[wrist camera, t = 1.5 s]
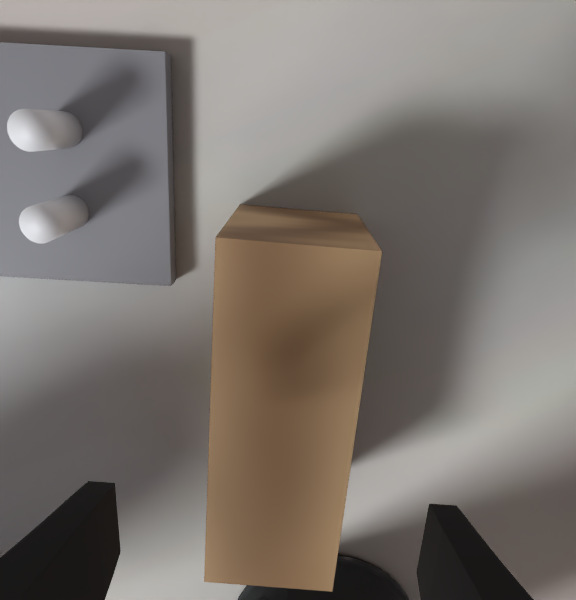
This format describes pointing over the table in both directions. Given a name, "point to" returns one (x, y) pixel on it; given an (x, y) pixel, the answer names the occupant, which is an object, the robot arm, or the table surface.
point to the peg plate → (86, 164)
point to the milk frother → (338, 586)
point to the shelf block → (285, 392)
